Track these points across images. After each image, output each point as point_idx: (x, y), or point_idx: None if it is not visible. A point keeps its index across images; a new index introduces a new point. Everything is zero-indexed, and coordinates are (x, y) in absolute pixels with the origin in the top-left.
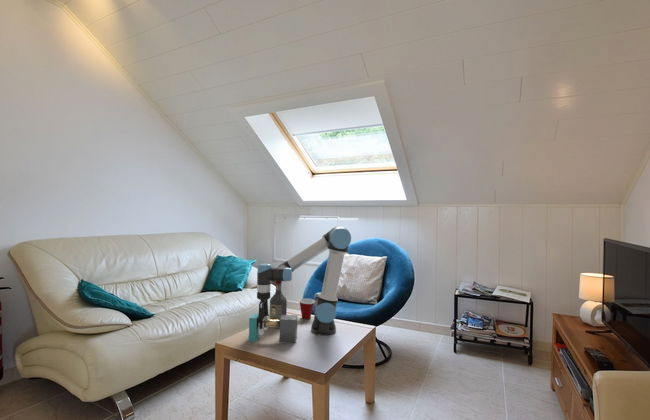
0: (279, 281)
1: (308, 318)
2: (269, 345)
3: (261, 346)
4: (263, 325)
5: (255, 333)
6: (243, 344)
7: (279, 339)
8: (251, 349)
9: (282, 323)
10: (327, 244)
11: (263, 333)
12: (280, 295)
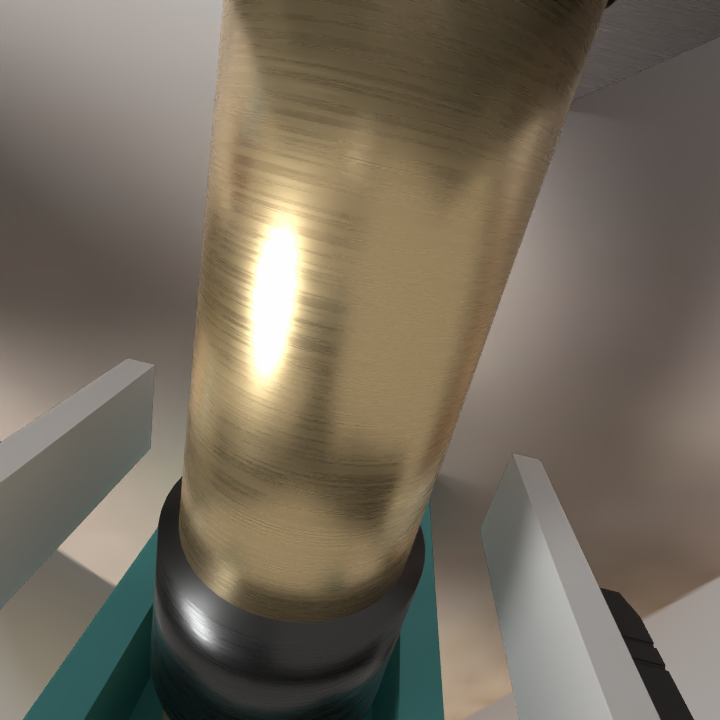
0: None
1: None
2: (635, 300)
3: (628, 415)
4: (618, 636)
5: (430, 568)
6: (480, 597)
7: (576, 98)
8: (681, 534)
9: None
10: None
11: (541, 471)
12: None
